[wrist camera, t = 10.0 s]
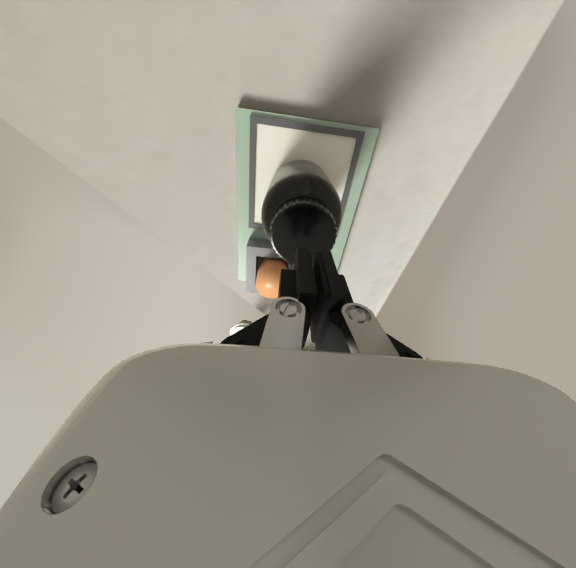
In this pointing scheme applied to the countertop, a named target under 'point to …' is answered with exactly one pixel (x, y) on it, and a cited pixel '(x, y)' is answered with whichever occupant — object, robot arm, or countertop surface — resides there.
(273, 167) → the mint green tray
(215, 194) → the countertop surface
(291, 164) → the supplement bottle
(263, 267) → the button
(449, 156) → the countertop surface
